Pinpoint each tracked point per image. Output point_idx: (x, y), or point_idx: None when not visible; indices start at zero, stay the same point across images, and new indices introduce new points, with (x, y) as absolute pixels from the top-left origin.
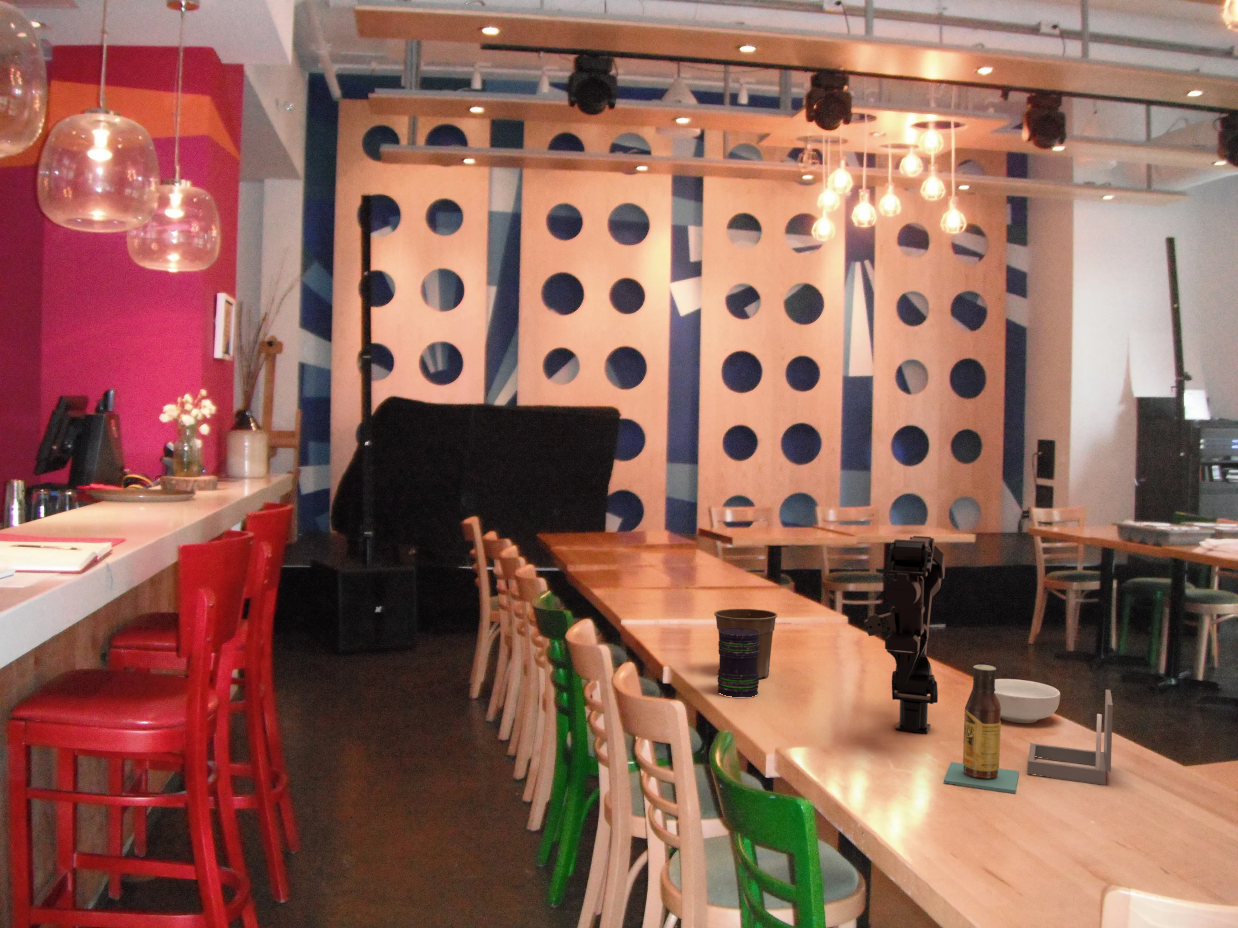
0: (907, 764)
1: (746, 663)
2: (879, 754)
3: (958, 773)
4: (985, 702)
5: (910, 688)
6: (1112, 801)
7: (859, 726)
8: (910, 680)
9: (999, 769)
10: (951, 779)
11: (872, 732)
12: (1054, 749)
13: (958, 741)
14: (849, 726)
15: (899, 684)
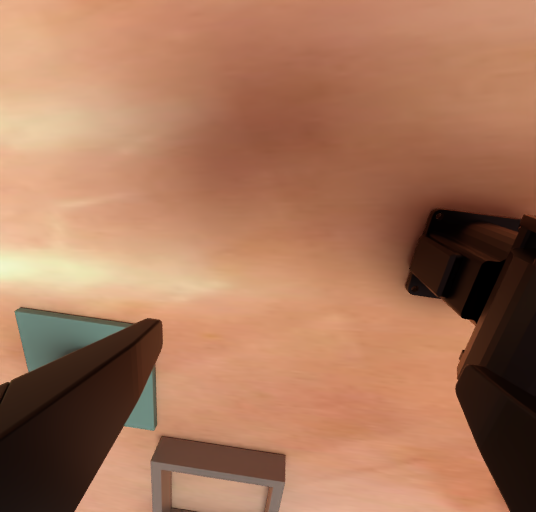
0: (109, 240)
1: None
2: (159, 169)
3: (77, 338)
4: None
5: (483, 319)
6: (90, 503)
7: (466, 83)
8: (513, 345)
9: (146, 404)
10: (29, 324)
11: (392, 136)
12: (269, 503)
13: (354, 353)
14: (461, 42)
15: (517, 275)
